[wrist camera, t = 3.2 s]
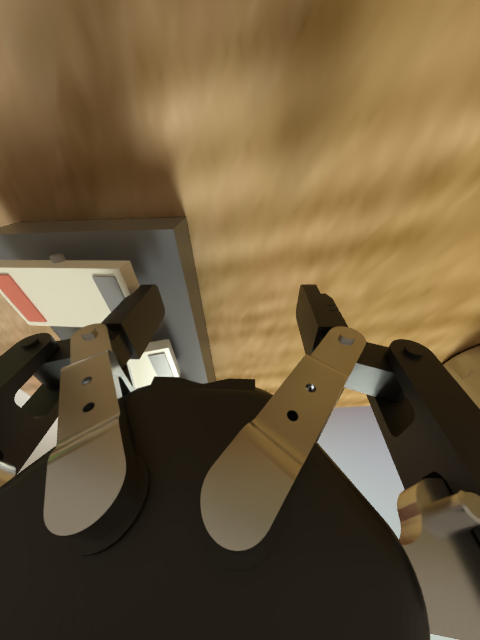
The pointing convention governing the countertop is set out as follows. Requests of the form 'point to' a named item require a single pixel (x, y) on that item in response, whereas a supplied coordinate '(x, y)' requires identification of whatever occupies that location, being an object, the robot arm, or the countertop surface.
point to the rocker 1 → (66, 289)
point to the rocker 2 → (154, 363)
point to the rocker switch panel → (149, 267)
